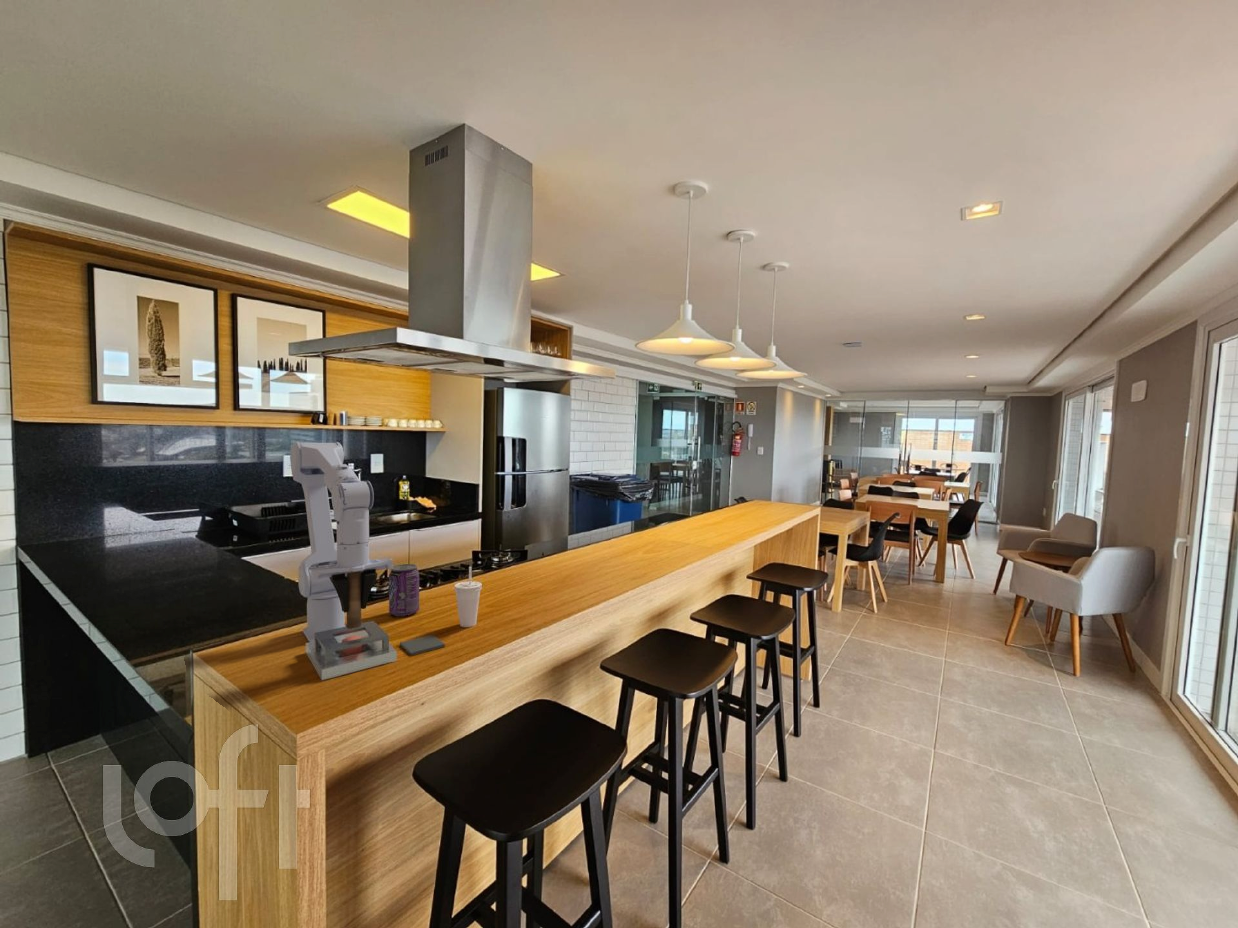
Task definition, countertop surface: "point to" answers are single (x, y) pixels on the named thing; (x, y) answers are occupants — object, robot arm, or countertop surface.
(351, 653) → the breaker plunger
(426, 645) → the rubber pad
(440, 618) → the countertop surface
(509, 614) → the countertop surface
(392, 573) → the beverage can
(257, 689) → the countertop surface
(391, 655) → the box
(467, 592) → the smoothie
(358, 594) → the walnut dowel
